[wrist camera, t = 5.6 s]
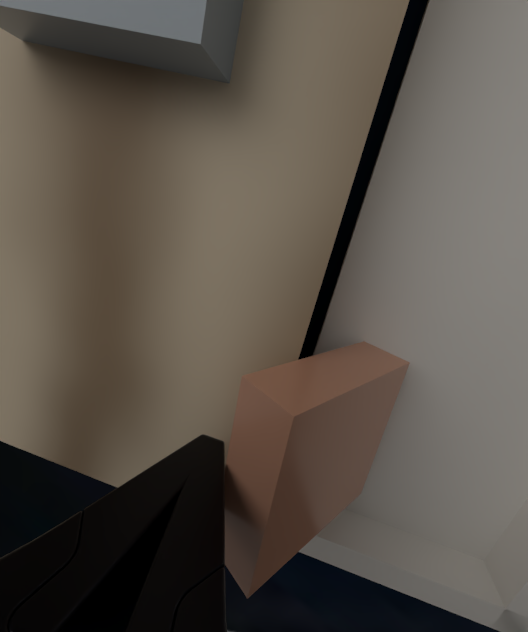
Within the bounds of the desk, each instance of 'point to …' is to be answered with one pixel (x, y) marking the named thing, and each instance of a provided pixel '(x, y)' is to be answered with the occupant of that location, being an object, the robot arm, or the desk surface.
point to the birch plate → (172, 226)
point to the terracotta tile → (302, 452)
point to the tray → (446, 323)
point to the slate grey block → (135, 31)
